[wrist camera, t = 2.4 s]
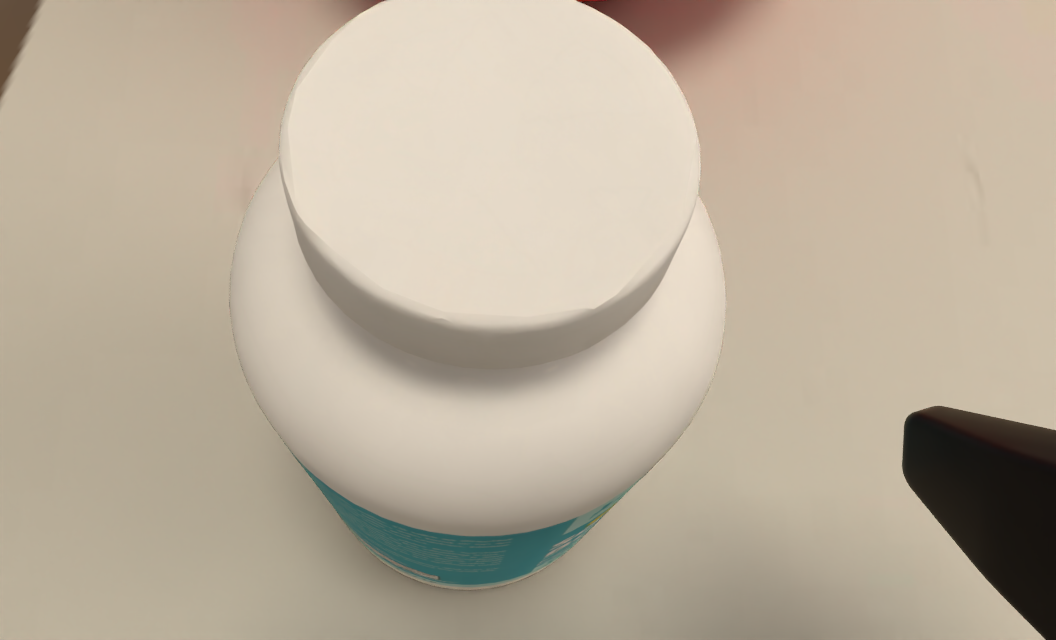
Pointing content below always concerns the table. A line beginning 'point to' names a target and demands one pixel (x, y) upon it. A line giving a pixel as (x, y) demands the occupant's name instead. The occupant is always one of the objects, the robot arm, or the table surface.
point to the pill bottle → (479, 280)
